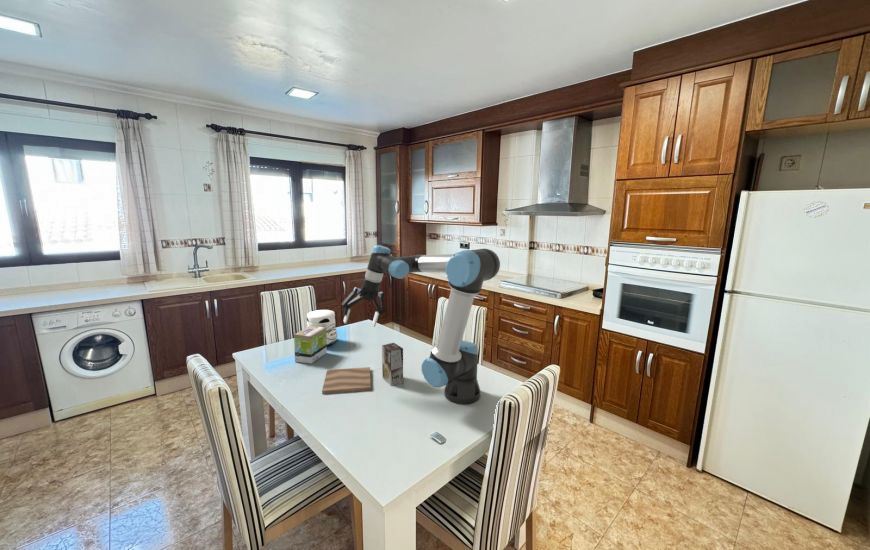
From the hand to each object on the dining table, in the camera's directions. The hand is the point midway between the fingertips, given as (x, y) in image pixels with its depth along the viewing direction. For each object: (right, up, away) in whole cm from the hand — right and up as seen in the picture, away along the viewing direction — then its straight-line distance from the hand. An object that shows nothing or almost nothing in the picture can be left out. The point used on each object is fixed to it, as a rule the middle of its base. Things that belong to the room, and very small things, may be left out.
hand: (359, 323), depth 159 cm
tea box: (-31, -21, +26) cm, 45 cm away
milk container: (-31, -18, +46) cm, 58 cm away
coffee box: (+15, -26, +2) cm, 30 cm away
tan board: (-5, -26, +1) cm, 26 cm away
